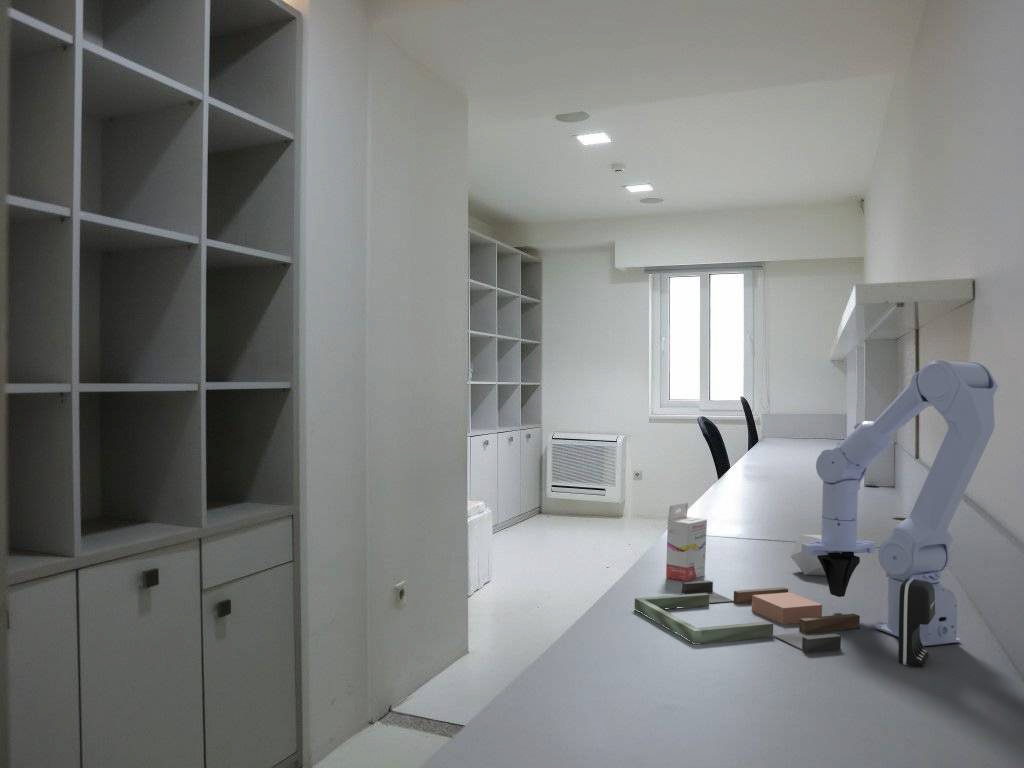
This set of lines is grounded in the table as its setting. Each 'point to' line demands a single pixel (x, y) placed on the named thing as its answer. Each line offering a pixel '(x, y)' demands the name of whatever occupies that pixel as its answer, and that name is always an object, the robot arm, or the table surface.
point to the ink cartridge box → (685, 545)
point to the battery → (914, 620)
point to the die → (804, 562)
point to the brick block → (785, 607)
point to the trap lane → (704, 595)
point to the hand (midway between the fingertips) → (837, 595)
